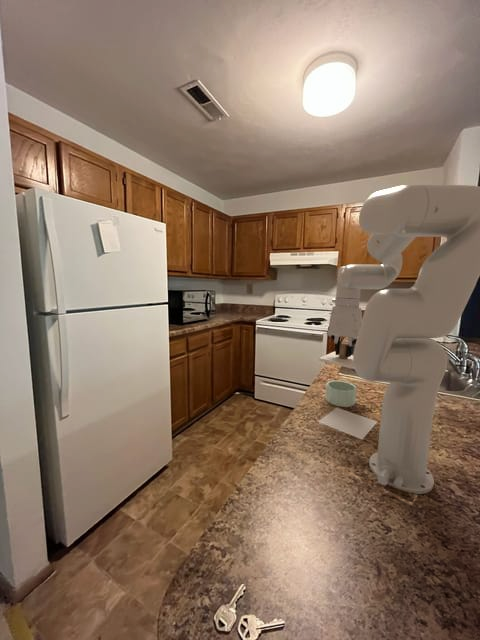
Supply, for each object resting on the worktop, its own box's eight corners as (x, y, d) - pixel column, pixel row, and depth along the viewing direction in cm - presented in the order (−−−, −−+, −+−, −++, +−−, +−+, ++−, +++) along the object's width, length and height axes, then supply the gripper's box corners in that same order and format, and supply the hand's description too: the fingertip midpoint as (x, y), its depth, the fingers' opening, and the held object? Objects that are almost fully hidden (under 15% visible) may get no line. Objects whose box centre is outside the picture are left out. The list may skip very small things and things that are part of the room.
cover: (353, 369, 86) (355, 350, 85) (319, 360, 94) (320, 344, 93) (366, 360, 94) (368, 344, 93) (333, 354, 103) (335, 338, 102)
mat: (362, 441, 73) (362, 439, 73) (317, 423, 82) (318, 421, 81) (377, 423, 82) (377, 421, 82) (336, 409, 91) (336, 407, 91)
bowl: (348, 411, 90) (349, 394, 89) (320, 401, 96) (321, 385, 95) (359, 401, 97) (360, 385, 96) (332, 393, 104) (333, 378, 103)
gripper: (319, 302, 94) (316, 352, 97) (368, 305, 83) (363, 363, 86) (329, 300, 99) (326, 349, 102) (376, 304, 88) (371, 358, 91)
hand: (343, 354), depth 94 cm, fingers closed on cover, 3 cm apart
